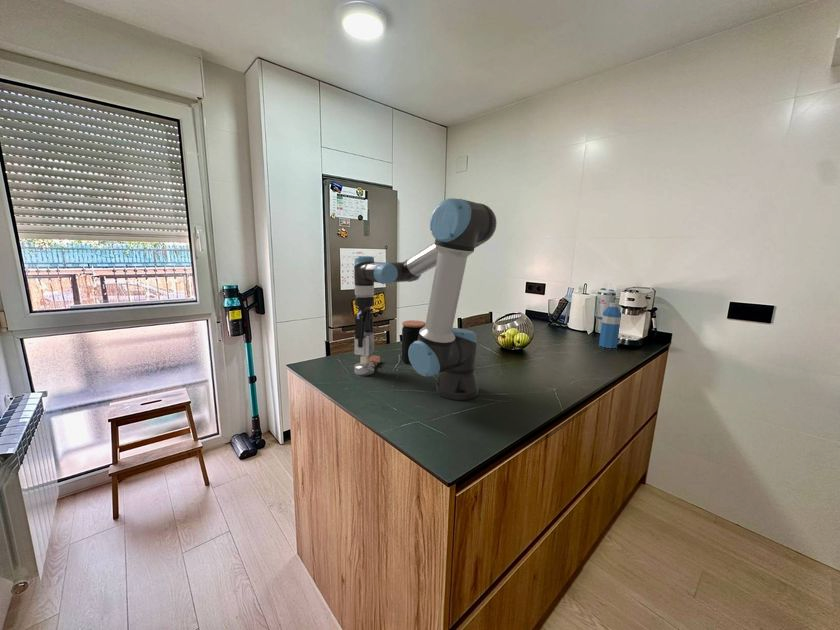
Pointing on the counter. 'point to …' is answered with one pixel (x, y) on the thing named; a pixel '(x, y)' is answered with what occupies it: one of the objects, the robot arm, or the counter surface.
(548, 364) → the counter surface
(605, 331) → the water bottle
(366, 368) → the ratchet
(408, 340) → the coffee jar
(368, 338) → the silver metal block
